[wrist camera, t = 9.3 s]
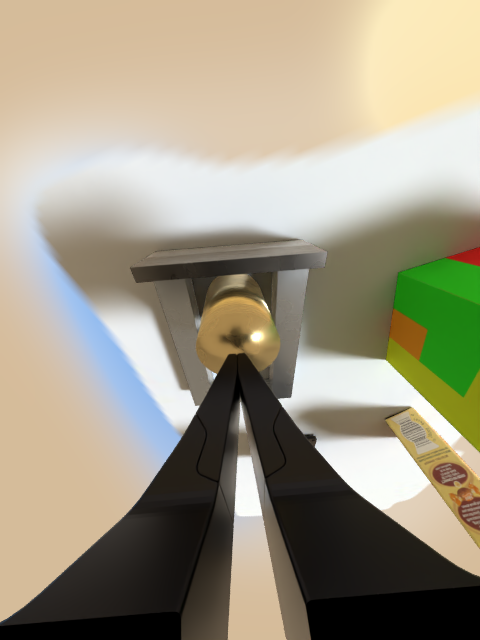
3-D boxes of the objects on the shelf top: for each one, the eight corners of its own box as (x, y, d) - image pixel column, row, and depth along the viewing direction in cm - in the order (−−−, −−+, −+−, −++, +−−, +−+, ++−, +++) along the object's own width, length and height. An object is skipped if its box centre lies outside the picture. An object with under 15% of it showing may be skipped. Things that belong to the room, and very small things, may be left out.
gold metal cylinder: (262, 318, 16) (278, 373, 11) (211, 323, 16) (204, 381, 11) (261, 268, 13) (282, 308, 8) (201, 274, 13) (186, 318, 8)
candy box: (382, 419, 26) (536, 634, 13) (413, 405, 24) (622, 633, 11) (405, 437, 29) (543, 621, 16) (433, 426, 28) (610, 619, 15)
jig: (286, 383, 20) (297, 416, 17) (197, 390, 20) (192, 425, 17) (302, 239, 12) (327, 251, 9) (155, 251, 12) (130, 267, 9)
